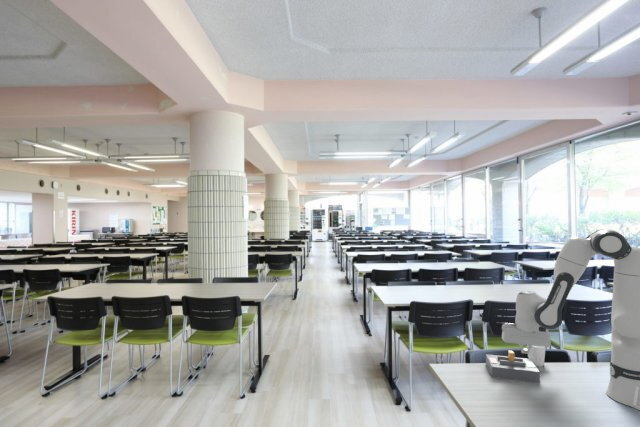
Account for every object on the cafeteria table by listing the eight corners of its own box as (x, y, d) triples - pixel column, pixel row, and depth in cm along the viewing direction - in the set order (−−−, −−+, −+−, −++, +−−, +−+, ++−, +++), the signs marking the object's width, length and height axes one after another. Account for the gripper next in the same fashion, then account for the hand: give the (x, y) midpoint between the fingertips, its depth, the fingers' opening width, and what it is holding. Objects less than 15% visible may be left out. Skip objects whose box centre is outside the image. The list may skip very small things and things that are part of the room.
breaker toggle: (512, 360, 164) (512, 350, 163) (514, 363, 161) (514, 353, 161) (508, 360, 164) (508, 350, 164) (509, 363, 161) (509, 352, 161)
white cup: (530, 358, 177) (530, 340, 177) (547, 364, 171) (547, 344, 171) (524, 363, 172) (524, 344, 172) (542, 368, 166) (542, 348, 166)
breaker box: (529, 368, 166) (529, 355, 166) (539, 382, 153) (539, 368, 153) (485, 363, 172) (485, 351, 172) (492, 377, 158) (492, 363, 158)
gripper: (503, 324, 160) (502, 353, 161) (552, 329, 155) (551, 358, 155) (500, 320, 166) (499, 347, 167) (547, 324, 161) (546, 353, 161)
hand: (525, 353), depth 161 cm, fingers closed
